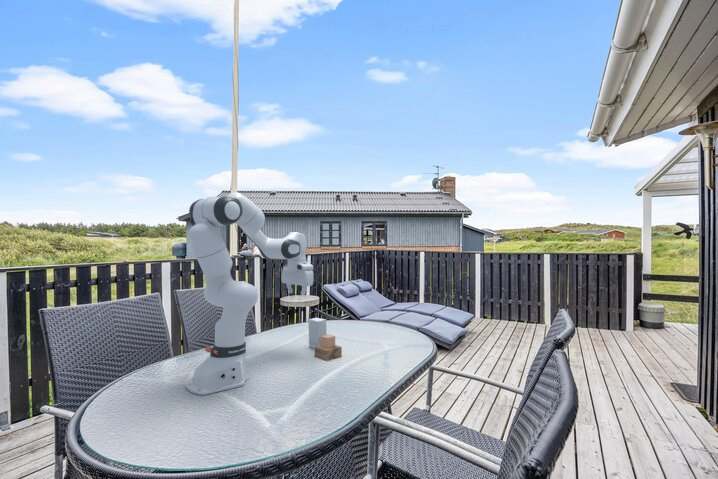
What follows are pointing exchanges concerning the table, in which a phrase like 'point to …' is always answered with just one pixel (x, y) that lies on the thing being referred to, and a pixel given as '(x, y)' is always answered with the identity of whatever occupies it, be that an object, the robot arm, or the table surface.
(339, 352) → the walnut block
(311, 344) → the skincare box
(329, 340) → the terracotta cube
